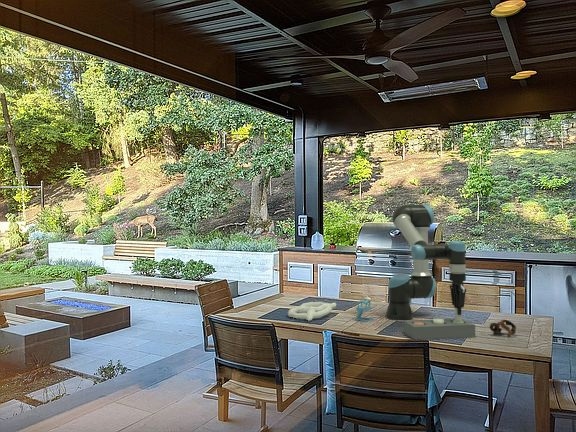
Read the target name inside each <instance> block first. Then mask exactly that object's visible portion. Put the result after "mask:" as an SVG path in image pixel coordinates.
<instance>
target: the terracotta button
mask: <svg viewBox="0 0 576 432" xmlns="http://www.w3.org/2000/svg"><path fill="white" fill-rule="evenodd" d="M413 324H414V325H424V323H423V322H414V323H413Z"/></svg>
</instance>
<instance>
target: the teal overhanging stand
mask: <svg viewBox="0 0 576 432" xmlns="http://www.w3.org/2000/svg"><path fill="white" fill-rule="evenodd" d="M371 302H372V301H371V300H370V299H368V298H364V299H362V300H359V301H356V304H357V307H356V308H355V310H356V311H357V313H356V319H357V320H356V319H355V320H356V321H359V320H361V321H360V322H364V321H365V323H370V322H372V321H374V318H373V317H362V315H363V312H364V311H369V310H371V309H372V307H371ZM363 304H365V306H363ZM365 319H369V320H365ZM371 320H372V321H371ZM369 321H370V322H369Z"/></svg>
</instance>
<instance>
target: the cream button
mask: <svg viewBox="0 0 576 432" xmlns="http://www.w3.org/2000/svg"><path fill="white" fill-rule="evenodd" d="M444 319H445V318H439V317H437V318H433V319H432V320H433V323H434V324H444Z"/></svg>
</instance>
